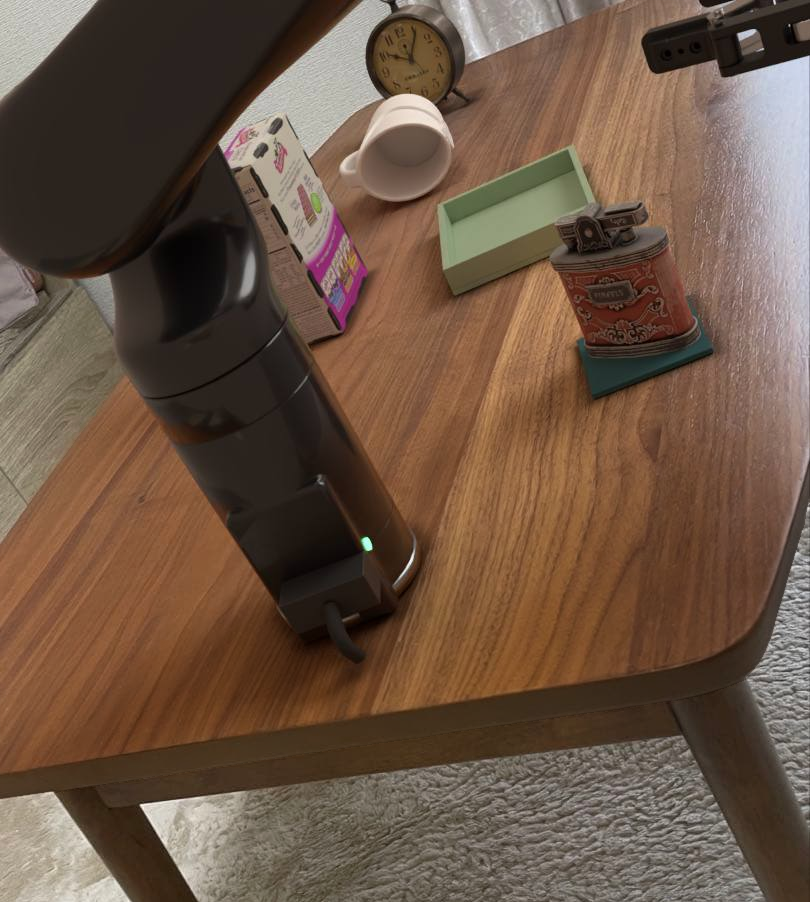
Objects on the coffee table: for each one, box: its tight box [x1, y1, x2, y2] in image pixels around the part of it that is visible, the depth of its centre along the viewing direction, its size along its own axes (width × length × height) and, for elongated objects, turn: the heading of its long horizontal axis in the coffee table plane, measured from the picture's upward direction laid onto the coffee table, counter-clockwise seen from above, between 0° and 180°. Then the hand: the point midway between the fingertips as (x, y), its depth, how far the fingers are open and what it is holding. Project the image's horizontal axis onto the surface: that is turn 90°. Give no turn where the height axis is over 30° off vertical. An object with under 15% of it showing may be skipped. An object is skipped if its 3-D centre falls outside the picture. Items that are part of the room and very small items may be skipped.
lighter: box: [548, 199, 701, 359], centre depth 79 cm, size 8×3×10 cm, turn 59°
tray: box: [436, 144, 597, 297], centre depth 106 cm, size 15×13×2 cm
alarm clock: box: [364, 0, 471, 107], centre depth 141 cm, size 11×5×16 cm, turn 67°
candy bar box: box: [223, 111, 369, 346], centre depth 106 cm, size 11×5×16 cm, turn 168°
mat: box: [576, 295, 715, 400], centre depth 82 cm, size 8×8×1 cm
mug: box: [338, 94, 455, 203], centre depth 126 cm, size 12×9×8 cm
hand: (673, 19), depth 68 cm, fingers open, 8 cm apart
